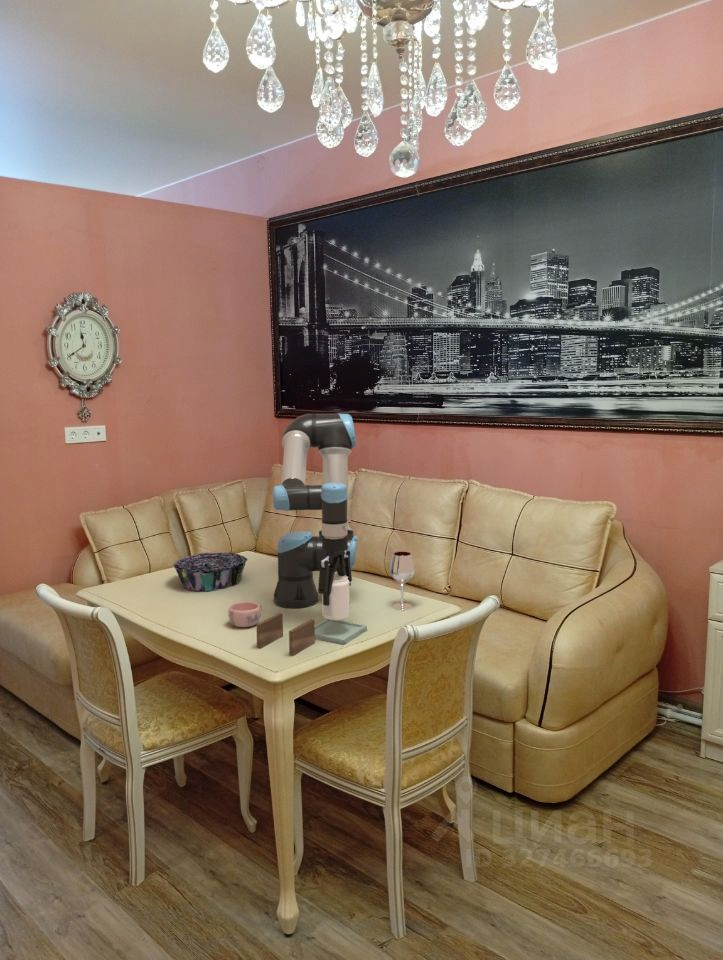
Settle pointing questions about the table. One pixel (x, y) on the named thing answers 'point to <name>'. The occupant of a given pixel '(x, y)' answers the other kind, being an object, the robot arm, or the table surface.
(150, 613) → the table surface
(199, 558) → the decorative bowl
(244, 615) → the pink bowl
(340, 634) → the tray
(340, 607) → the beverage can
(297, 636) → the wooden boards
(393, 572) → the wineglass
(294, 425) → the robot arm
